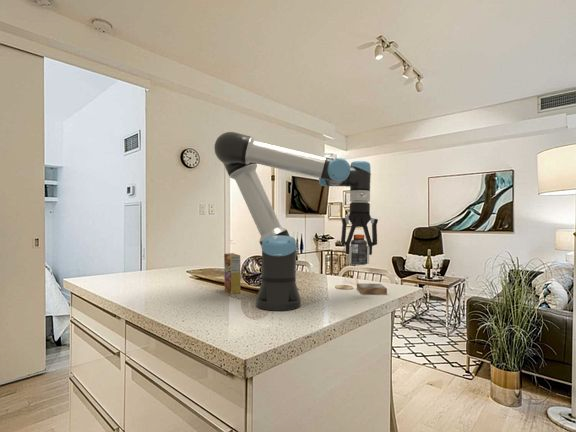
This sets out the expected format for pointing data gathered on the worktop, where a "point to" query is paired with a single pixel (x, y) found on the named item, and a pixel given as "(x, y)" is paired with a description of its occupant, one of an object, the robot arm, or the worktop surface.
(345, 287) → the cork coaster
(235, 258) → the candy box
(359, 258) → the pill bottle
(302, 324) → the worktop surface
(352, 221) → the robot arm
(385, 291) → the walnut stand
